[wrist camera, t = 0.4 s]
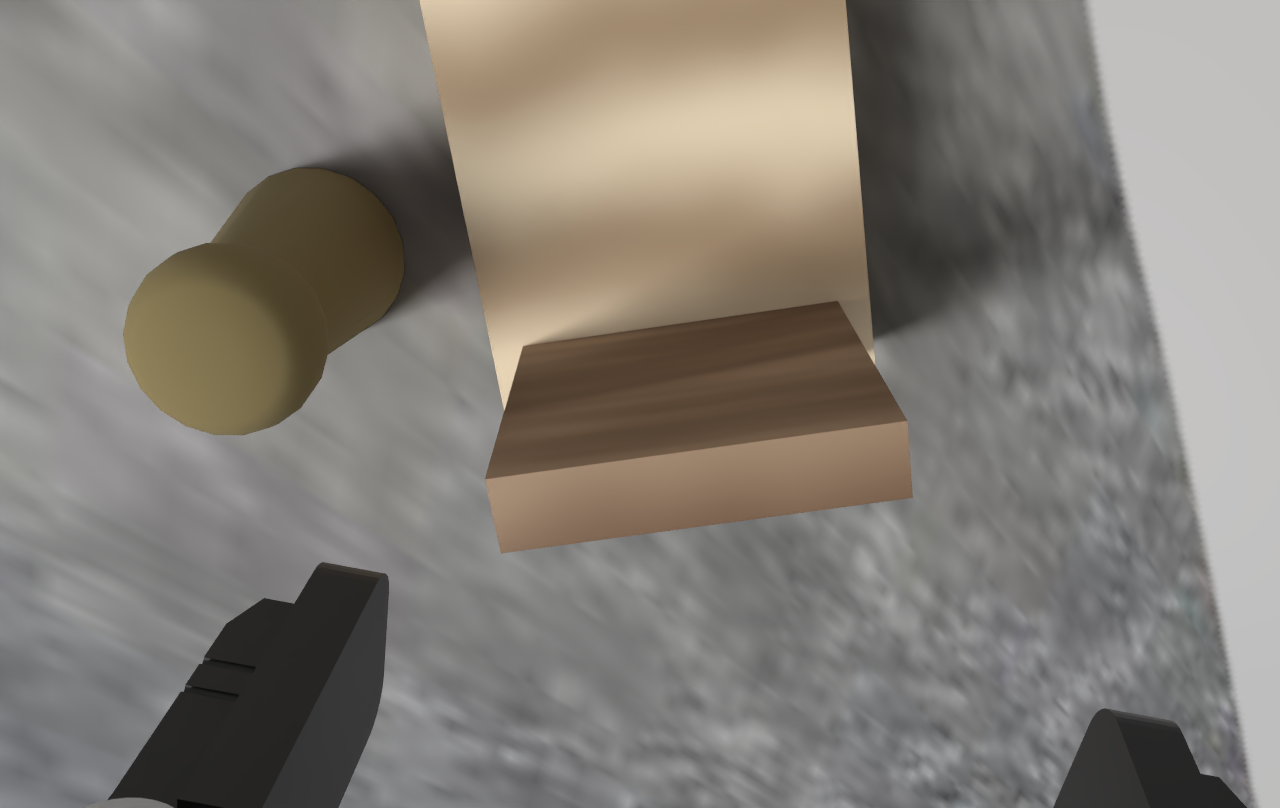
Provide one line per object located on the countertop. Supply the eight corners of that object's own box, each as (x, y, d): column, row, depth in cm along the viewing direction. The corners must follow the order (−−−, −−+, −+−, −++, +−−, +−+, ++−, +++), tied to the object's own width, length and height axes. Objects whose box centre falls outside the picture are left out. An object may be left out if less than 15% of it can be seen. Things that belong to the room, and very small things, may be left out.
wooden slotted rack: (364, -387, 33) (190, -605, 20) (784, -461, 33) (884, -737, 20) (520, 393, 42) (468, 594, 29) (854, 345, 41) (956, 529, 28)
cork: (433, 219, 40) (362, 313, 29) (363, 368, 41) (273, 505, 31) (266, 134, 38) (131, 201, 28) (202, 291, 40) (54, 407, 30)
